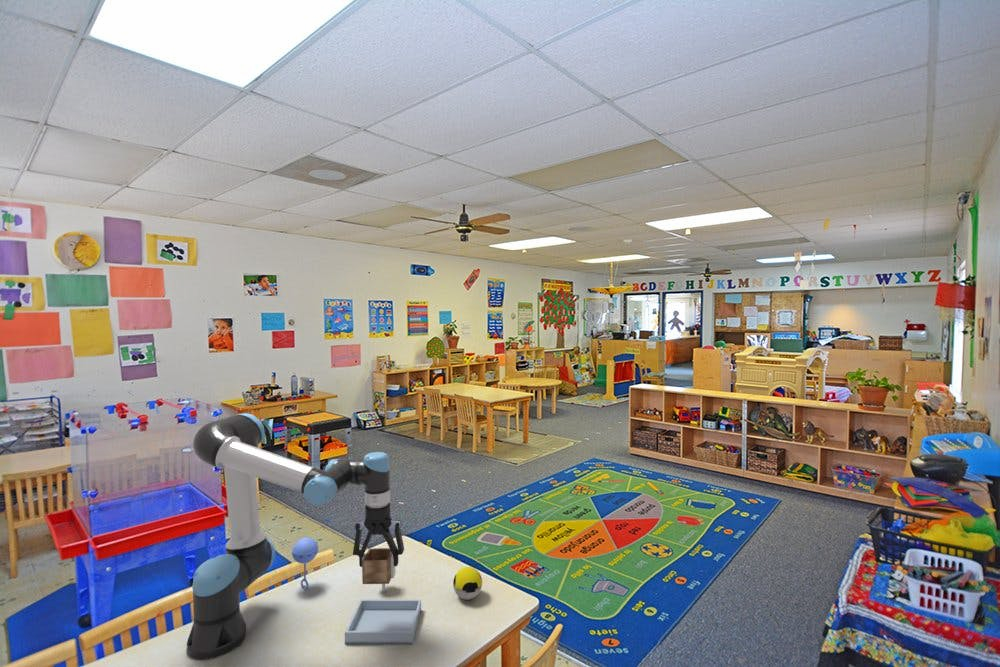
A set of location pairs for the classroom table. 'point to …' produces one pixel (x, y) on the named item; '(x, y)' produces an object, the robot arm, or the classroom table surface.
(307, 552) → the baby rattle
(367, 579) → the small crate
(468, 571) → the toy
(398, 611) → the big tray
